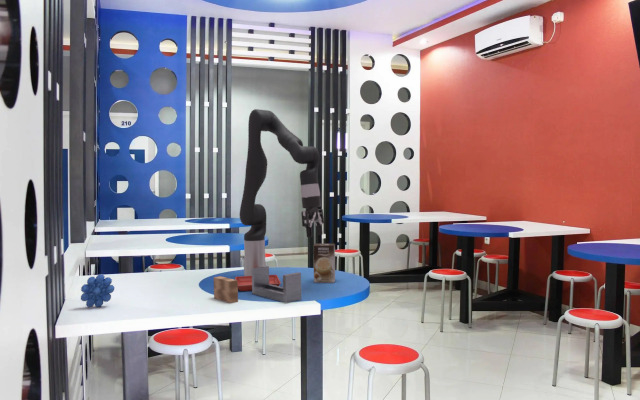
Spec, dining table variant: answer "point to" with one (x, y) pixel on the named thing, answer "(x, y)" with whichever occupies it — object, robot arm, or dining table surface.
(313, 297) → the dining table surface
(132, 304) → the dining table surface
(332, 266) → the coffee box
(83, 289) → the blue knobby flower
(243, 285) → the plant saucer
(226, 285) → the door panel
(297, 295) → the grey desk caddy
